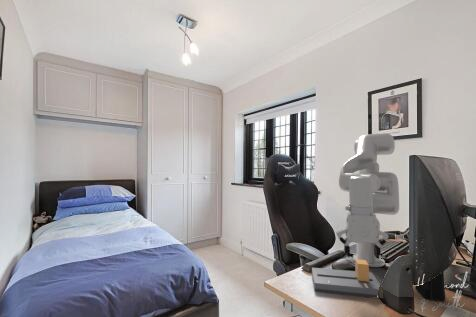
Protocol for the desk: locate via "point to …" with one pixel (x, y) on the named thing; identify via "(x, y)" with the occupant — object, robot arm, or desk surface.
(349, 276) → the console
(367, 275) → the fader tab
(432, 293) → the portable radio
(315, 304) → the desk surface
